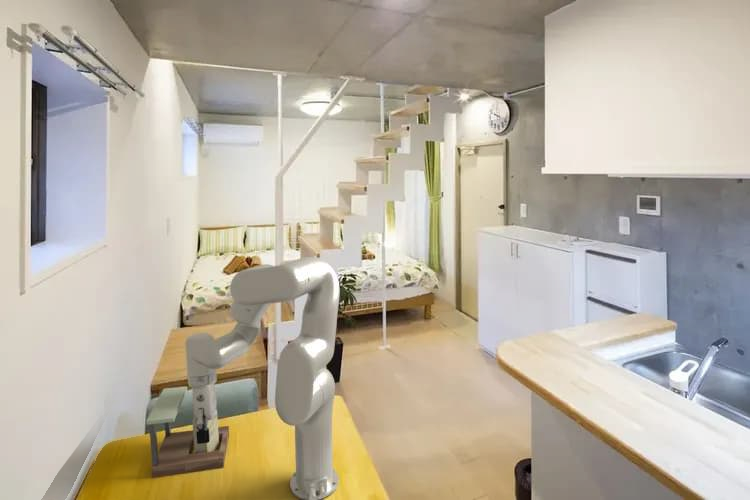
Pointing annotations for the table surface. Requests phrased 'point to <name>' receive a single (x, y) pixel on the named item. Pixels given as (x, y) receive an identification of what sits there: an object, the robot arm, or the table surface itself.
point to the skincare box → (213, 436)
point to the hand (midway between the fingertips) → (206, 432)
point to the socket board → (179, 440)
